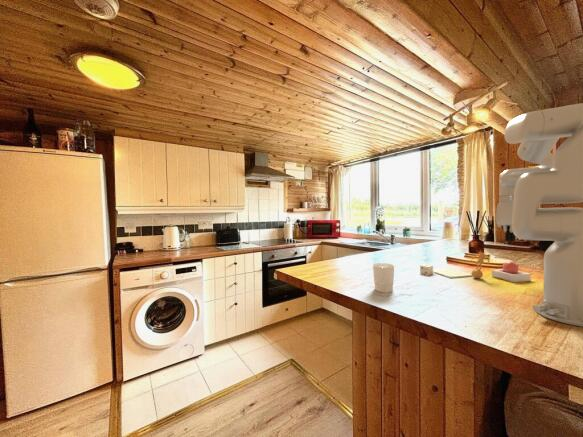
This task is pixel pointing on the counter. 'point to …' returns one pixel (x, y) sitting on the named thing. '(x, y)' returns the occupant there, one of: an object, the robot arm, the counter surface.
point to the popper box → (511, 276)
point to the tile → (451, 273)
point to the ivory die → (426, 269)
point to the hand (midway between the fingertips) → (510, 241)
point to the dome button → (510, 268)
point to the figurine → (477, 272)
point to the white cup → (383, 277)
